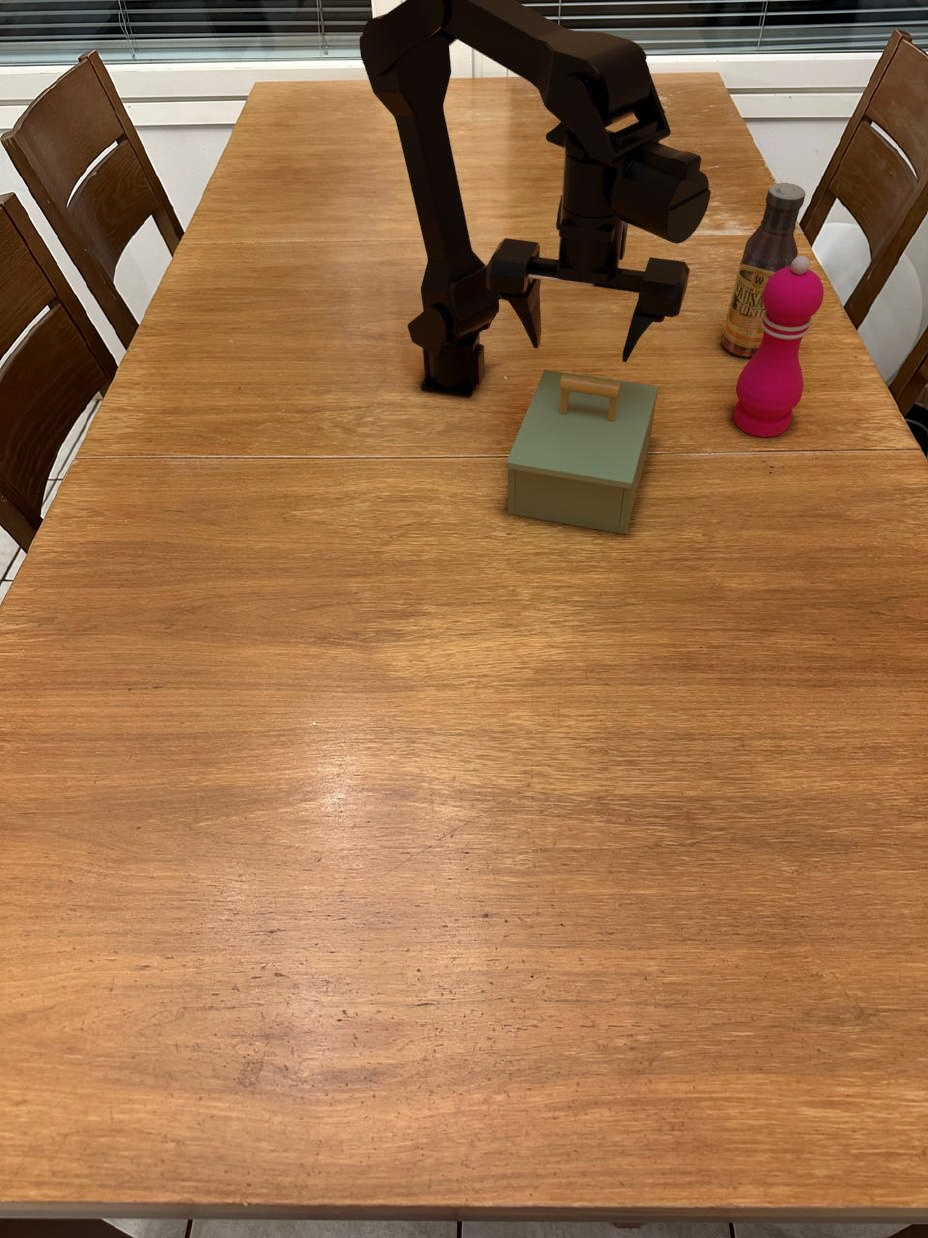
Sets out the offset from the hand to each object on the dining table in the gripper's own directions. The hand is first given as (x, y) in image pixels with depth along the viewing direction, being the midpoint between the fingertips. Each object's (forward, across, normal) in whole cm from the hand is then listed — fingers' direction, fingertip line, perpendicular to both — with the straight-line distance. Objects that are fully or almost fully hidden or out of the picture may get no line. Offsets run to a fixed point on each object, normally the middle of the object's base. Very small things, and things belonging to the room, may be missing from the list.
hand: (580, 352), depth 97 cm
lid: (+6, -2, +5) cm, 8 cm away
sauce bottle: (+13, -17, -26) cm, 33 cm away
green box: (+13, -2, +4) cm, 14 cm away
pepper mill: (+13, -20, -11) cm, 26 cm away
